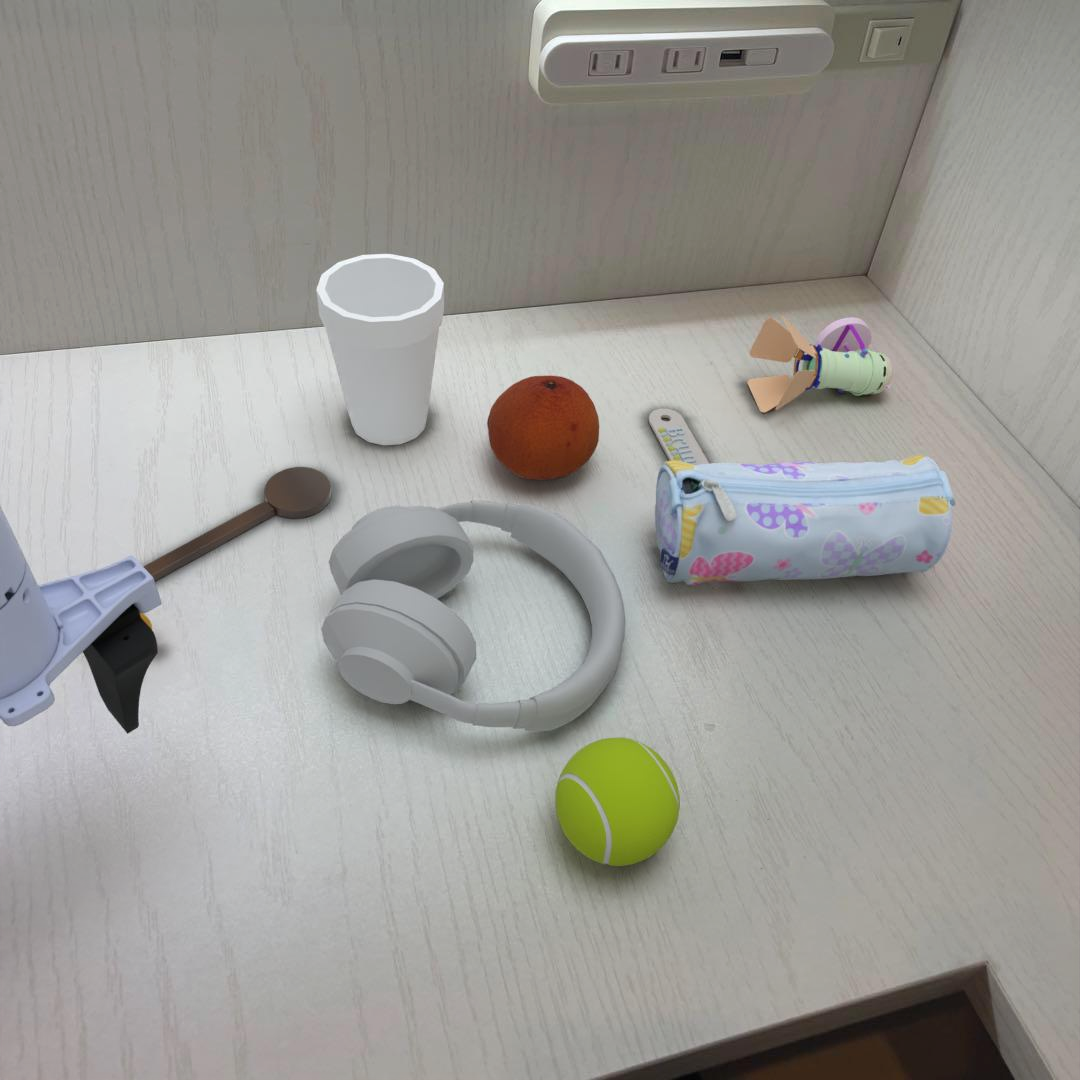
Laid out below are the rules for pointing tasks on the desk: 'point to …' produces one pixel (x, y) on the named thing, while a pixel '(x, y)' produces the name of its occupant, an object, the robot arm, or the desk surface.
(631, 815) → the tennis ball
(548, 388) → the fruit
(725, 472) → the pencil case
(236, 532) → the spoon
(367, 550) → the headphones
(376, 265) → the foam cup
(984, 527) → the desk surface
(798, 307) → the desk surface
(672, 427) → the keychain
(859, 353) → the spotlight
